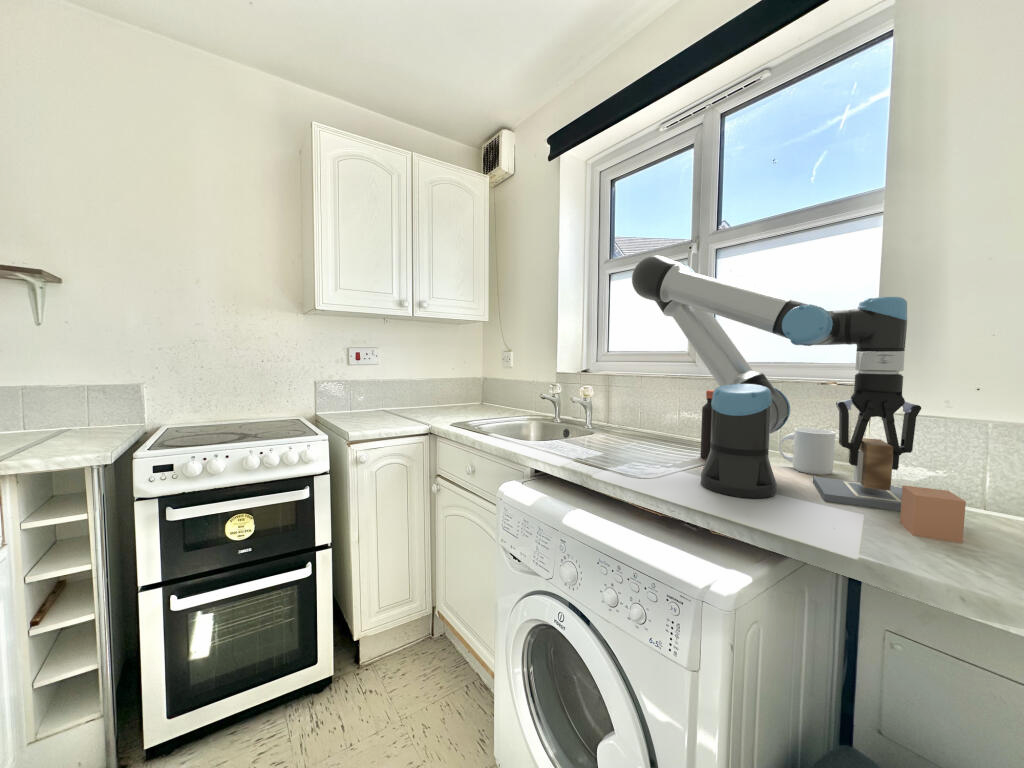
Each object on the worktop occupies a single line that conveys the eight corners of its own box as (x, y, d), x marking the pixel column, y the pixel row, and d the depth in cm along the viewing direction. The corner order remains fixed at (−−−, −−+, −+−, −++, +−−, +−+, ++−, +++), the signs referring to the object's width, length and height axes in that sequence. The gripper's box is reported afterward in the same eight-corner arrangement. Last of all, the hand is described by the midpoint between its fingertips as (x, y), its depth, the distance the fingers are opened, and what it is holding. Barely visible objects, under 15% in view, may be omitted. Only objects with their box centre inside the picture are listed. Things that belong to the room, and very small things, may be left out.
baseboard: (824, 500, 85) (824, 493, 85) (812, 482, 97) (813, 476, 97) (943, 517, 77) (943, 509, 77) (914, 495, 89) (914, 488, 89)
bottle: (727, 462, 116) (730, 392, 114) (700, 459, 118) (703, 391, 117) (724, 456, 122) (727, 390, 121) (699, 454, 125) (702, 389, 123)
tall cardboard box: (864, 487, 84) (867, 444, 84) (854, 477, 91) (857, 437, 91) (890, 490, 82) (893, 446, 82) (877, 479, 89) (880, 439, 89)
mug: (782, 462, 116) (784, 425, 115) (835, 470, 108) (837, 430, 107) (774, 468, 110) (776, 428, 109) (829, 477, 102) (832, 435, 101)
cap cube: (912, 535, 69) (915, 495, 69) (899, 522, 74) (902, 485, 74) (962, 543, 66) (965, 501, 66) (945, 529, 71) (948, 490, 71)
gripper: (831, 372, 86) (825, 481, 88) (943, 374, 78) (934, 494, 79) (824, 371, 93) (818, 472, 94) (926, 372, 84) (919, 483, 86)
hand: (871, 482), depth 87 cm, fingers closed on tall cardboard box, 4 cm apart
